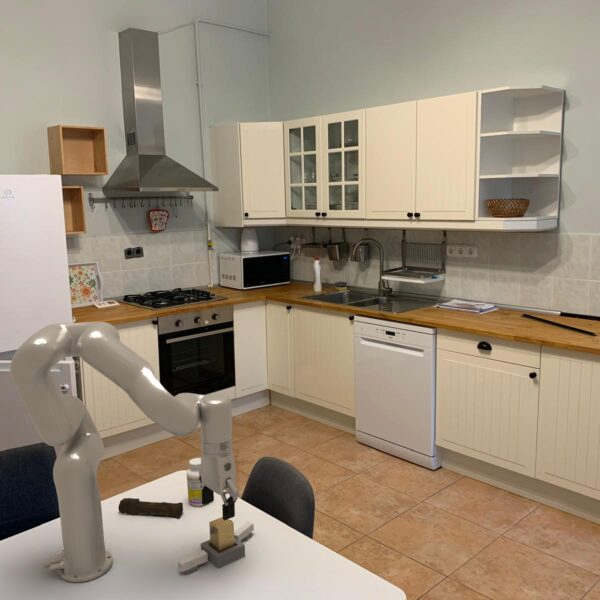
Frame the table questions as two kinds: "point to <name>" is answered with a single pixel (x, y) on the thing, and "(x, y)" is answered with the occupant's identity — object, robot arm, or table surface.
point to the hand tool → (150, 507)
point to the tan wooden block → (221, 534)
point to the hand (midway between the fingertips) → (218, 510)
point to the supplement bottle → (194, 483)
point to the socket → (213, 556)
